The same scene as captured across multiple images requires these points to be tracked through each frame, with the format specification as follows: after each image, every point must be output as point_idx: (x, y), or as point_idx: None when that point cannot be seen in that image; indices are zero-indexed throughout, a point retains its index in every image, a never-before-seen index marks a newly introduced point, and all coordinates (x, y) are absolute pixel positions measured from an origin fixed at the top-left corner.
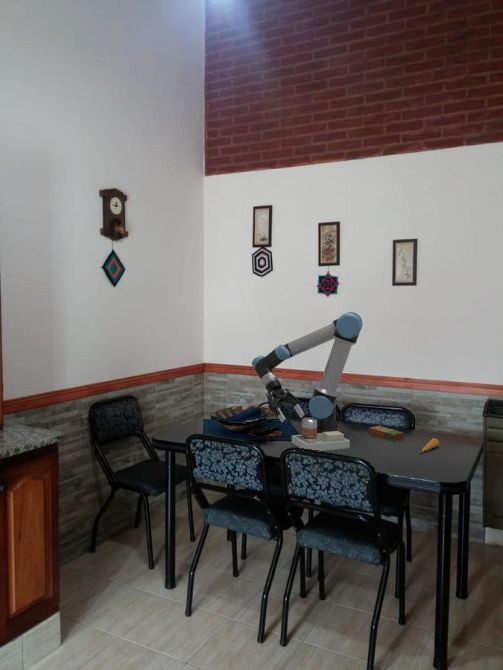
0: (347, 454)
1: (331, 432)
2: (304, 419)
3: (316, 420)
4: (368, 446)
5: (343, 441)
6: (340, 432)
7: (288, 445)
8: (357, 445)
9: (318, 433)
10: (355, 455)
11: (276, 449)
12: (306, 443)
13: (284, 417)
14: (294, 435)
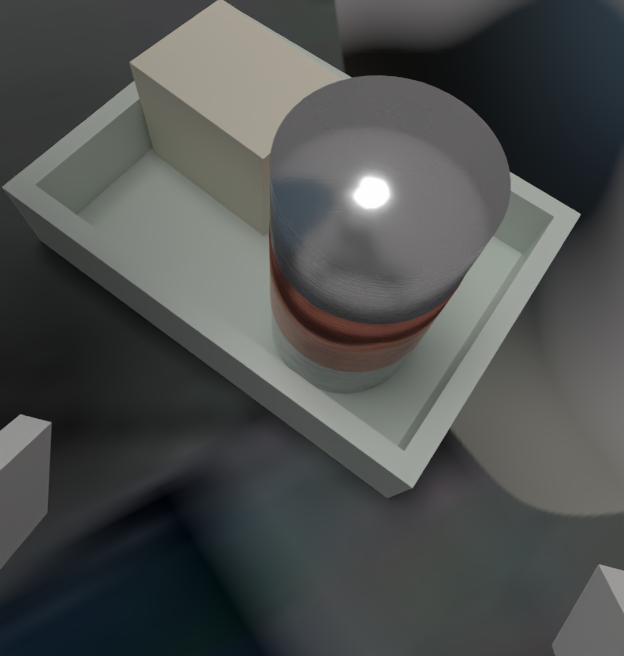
0: (336, 57)
1: (224, 91)
2: (452, 223)
3: (379, 76)
4: (63, 4)
5: (276, 34)
6: (173, 33)
7: (422, 516)
8: (75, 61)
9: (139, 278)
10: (324, 19)
11: (616, 546)
12: (553, 232)
13: (621, 596)
14: (384, 463)
